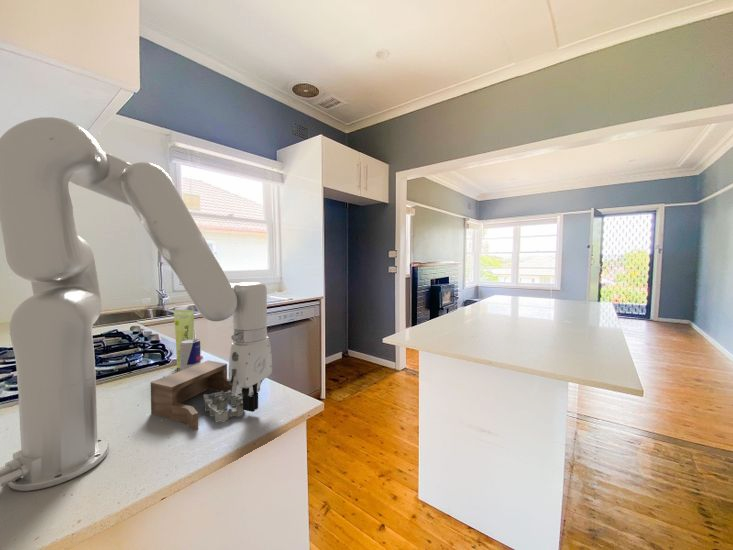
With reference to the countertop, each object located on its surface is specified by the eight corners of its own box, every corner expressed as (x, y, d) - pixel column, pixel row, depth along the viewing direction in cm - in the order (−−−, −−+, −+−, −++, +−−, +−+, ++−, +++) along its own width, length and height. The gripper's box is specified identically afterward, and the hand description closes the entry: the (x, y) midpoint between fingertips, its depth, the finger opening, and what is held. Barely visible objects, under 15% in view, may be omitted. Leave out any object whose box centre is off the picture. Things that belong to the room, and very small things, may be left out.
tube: (175, 370, 98) (174, 311, 97) (174, 365, 102) (173, 309, 101) (194, 367, 101) (194, 310, 100) (193, 362, 105) (192, 308, 104)
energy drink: (203, 379, 92) (202, 340, 91) (183, 384, 88) (183, 344, 87) (197, 374, 95) (196, 337, 95) (178, 379, 91) (177, 340, 91)
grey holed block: (247, 415, 72) (248, 398, 72) (214, 426, 67) (214, 408, 67) (232, 398, 80) (232, 384, 80) (201, 407, 75) (201, 391, 75)
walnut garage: (193, 430, 65) (193, 396, 64) (144, 416, 70) (143, 384, 70) (255, 393, 83) (255, 366, 83) (212, 384, 88) (212, 358, 88)
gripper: (239, 344, 62) (240, 429, 64) (282, 328, 77) (282, 398, 78) (212, 340, 65) (213, 422, 66) (258, 326, 79) (258, 393, 80)
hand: (250, 409), depth 72 cm, fingers closed
